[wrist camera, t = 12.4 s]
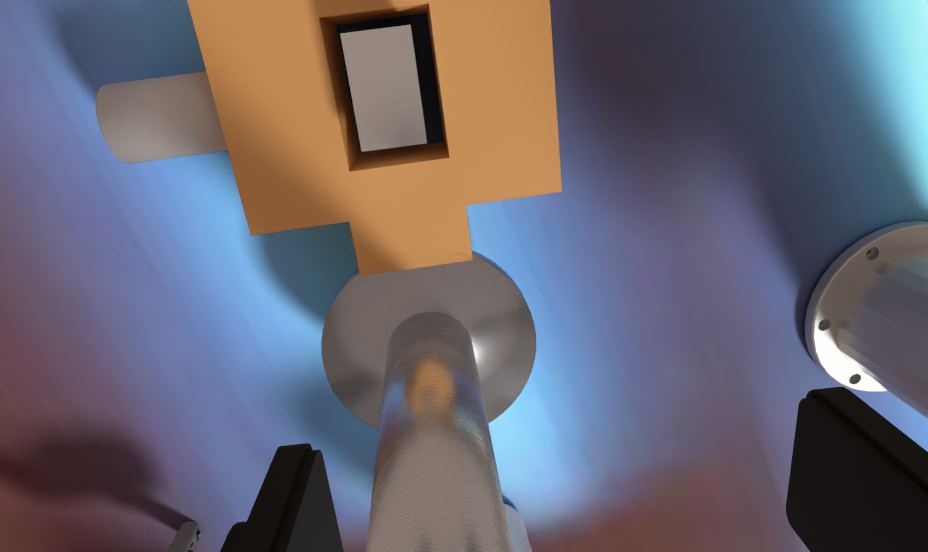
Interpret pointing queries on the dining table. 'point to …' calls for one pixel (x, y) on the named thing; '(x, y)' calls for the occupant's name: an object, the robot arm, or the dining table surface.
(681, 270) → the dining table surface
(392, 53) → the white block
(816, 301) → the robot arm
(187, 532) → the mechanical component
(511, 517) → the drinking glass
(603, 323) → the dining table surface
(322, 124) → the bracket head
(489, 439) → the post
